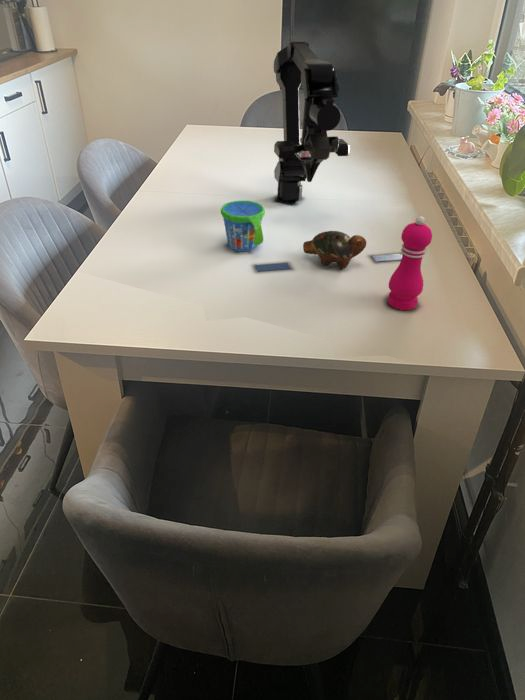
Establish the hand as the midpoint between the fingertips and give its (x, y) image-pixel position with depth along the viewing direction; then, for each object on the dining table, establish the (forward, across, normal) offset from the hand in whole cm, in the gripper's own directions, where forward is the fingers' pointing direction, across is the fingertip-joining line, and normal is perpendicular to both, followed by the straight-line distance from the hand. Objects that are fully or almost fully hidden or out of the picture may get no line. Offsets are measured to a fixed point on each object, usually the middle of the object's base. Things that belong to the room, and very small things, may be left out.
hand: (309, 181), depth 144 cm
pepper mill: (+12, +9, -44) cm, 46 cm away
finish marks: (+12, 0, -23) cm, 26 cm away
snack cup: (+12, -20, -11) cm, 26 cm away
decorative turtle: (+12, 0, -23) cm, 26 cm away
